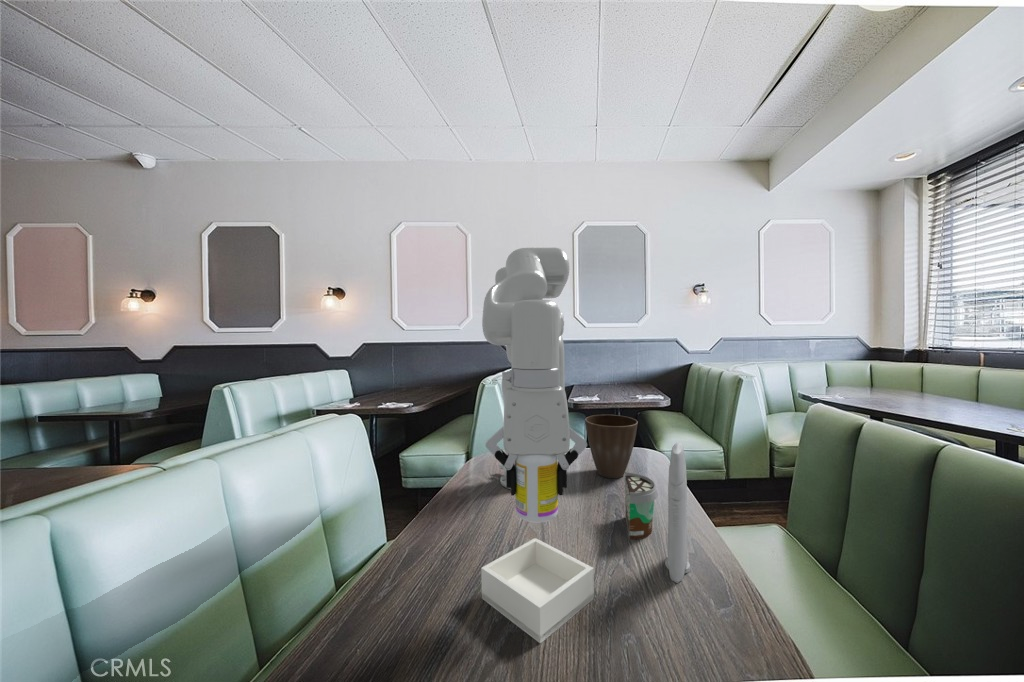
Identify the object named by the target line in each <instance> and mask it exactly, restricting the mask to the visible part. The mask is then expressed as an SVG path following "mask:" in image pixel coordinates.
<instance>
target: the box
mask: <svg viewBox="0 0 1024 682" xmlns="http://www.w3.org/2000/svg"><path fill="white" fill-rule="evenodd" d="M480 569H481V571H480V572H481V574H480V575H481V599H482V600H484V602H485V603H487V604H488V605H489V606H491V607H492V608H493V609H495V610H496V611H498V613H500V614H501V615H502V616H504V617H505V618H506V619H508V620H509V621H510V622H512V623H513V624H514V625H516V626H517V627H518V628H519V629H520V630H521V631H523V632H525V633H526V634H527V635H528V636H530V637H531V638H533V639H534V640H535V641H536V642H537V643H539V644H542V643H543V642H544V641H545V640H547V639H548V638H549V637H551V635H553V634H554V633H555V632H557V631H558V630H559V629H560V628H561V627H563V625H564V624H566V623H567V622H568V621H569V620H570V619H572V618H573V617H574V616H575V615H576V614H578V613H579V612H580V611H582V610H583V608H585V607H586V606H587V605H588V604H589V603H591V602H592V601H593V600H594V599H595V598H594V597H595V596H594V595H595V593H594V592H595V591H594V589H595V588H594V586H595V582H594V577H595V576H594V572H595V570H594V567H593V566H591V565H588V564H587V563H584V562H583V561H581V560H578V559H577V558H575V557H573V556H571V555H569V554H568V553H565V552H564V551H562V550H560V549H558V548H555V547H553V546H552V545H550V544H548V543H546V542H544V541H542V540H540V539H538V538H536V537H535V538H532V539H531V540H528V541H527V542H526V543H524V544H522V545H519V546H518V547H515V548H514V549H513V550H511V551H509V552H507V553H505V554H503V555H502V556H500V557H498V558H497V559H495V560H493V561H491V562H489V563H488V564H485V565H484V566H482V567H481V568H480Z"/></svg>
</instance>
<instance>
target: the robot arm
mask: <svg viewBox="0 0 1024 682" xmlns="http://www.w3.org/2000/svg"><path fill="white" fill-rule="evenodd" d="M569 275H570V262H569V257H568V255H567V253H566V252H565V251H564V249H561V248H560V247H521V248H518V249H514V250H513V251H512V252H511V253H510V254H509V255H508V256H507V258H506V261H505V266H504V267H501V268H499V269H498V270H497V271H496V273H495V279H494V282H495V284H494V285H492V286H491V287H490V288H489V290H488V291H487V292H486V294H485V297H484V299H483V300H484V301H483V307H482V317H481V319H482V320H481V324H482V333H483V337H484V339H486V341H487V343H489V344H491V345H495V346H505V349H506V357H507V360H508V361H509V363H510V364H511V368H510V369H509V371H508V370H507V371H502V374H501V376H502V377H501V384H500V385H501V391H502V392H501V393H502V399H503V404H504V405H503V406H504V407H503V425H502V427H500V428H499V429H498V430H497V431H496V432H494V434H492V436H491V437H489V438H488V439H487V440H486V442H485V447H486V448H487V449H486V450H488V451H489V452H490V453H491V454H492V455H493V456H494V458H495V459H496V460H497V461H498V462H499V464H498V469H500V470H503V474H502V475H501V476H500V485H501V486H502V487H504V488H506V489H509V490H510V496H514V497H515V496H516V479H515V460H516V458H517V456H518V455H556V457H557V472H558V496H563V495H564V488H565V489H566V488H568V481H567V480H568V475H567V473H568V472H567V471H568V469H569V468H570V466H571V465H572V464H573V463H574V462H575V461H576V460H577V459H578V457H579V455H580V454H582V452H583V451H584V450H585V449H586V448H587V447H588V442H587V440H585V438H583V437H582V436H581V435H580V434H578V432H577V431H575V430H574V429H573V428H572V427H571V426H570V418H569V409H568V408H569V406H568V400H567V393H566V390H565V389H566V388H565V385H566V382H565V379H566V377H565V376H566V375H565V367H566V366H565V365H566V364H565V360H566V359H565V343H564V339H563V336H562V335H563V333H564V329H565V320H564V313H563V311H561V310H560V307H559V306H558V304H557V303H556V302H555V301H553V300H550V299H557V298H558V297H559V296H560V295H561V294H562V292H563V290H564V288H565V286H566V285H567V282H568V279H569ZM548 299H549V300H548ZM502 440H503V449H504V450H503V449H501V448H500V447H499V446H498V443H500V441H502ZM570 440H571V441H572V442H573V443H574V445H573V447H571V448H570V442H571V441H570Z"/></svg>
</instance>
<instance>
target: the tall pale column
mask: <svg viewBox="0 0 1024 682" xmlns="http://www.w3.org/2000/svg"><path fill="white" fill-rule="evenodd" d="M671 447H672V448H671V452H670V458H669V460H670V461H669V465H668V466H669V468H668V483H667V485H668V487H667V490H668V491H667V501H668V502H667V504H668V505H667V507H668V509H667V510H668V511H667V512H668V515H667V516H668V518H667V519H668V521H667V556H666V558H665V559H664V560H665V561H664V563H665V565H664V566H665V567H666V568H667V569H668V572H669V579H670V580H671V582H673V583H676V584H679V583H681V582H682V581H683V579H684V577H685V574H688V573H689V572H690V571H691V563H690V562H689V561H688V528H687V527H688V526H687V525H688V522H687V521H688V520H687V519H688V517H687V515H688V514H687V513H688V510H687V509H688V508H687V506H688V505H687V503H688V502H687V501H688V498H687V497H688V495H687V494H688V491H687V490H688V485H687V484H688V482H687V464H686V458H685V449H684V446H683V443H681V442H676V443H675V444H674V445H672V446H671Z"/></svg>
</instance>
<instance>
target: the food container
mask: <svg viewBox="0 0 1024 682" xmlns="http://www.w3.org/2000/svg"><path fill="white" fill-rule="evenodd" d="M624 482H625V483H624V486H625V487H624V491H625V492H624V493H625V497H624V498H625V499H624V500H625V507H624V508H625V522H626V527H627V532H628V533H627V534H628V539H629V540H641V539H644V538H648V537H649V536H650V535H651V534H652V532H653V521H654V507H655V505H654V504H655V500H656V499H658V496H659V495H658V489H657V486H656V484H655V482H654V481H653V479H651V478H650V477H648V476H645V475H643V474H638V473H635V472H628V471H627V472H626V471H625V473H624Z"/></svg>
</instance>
